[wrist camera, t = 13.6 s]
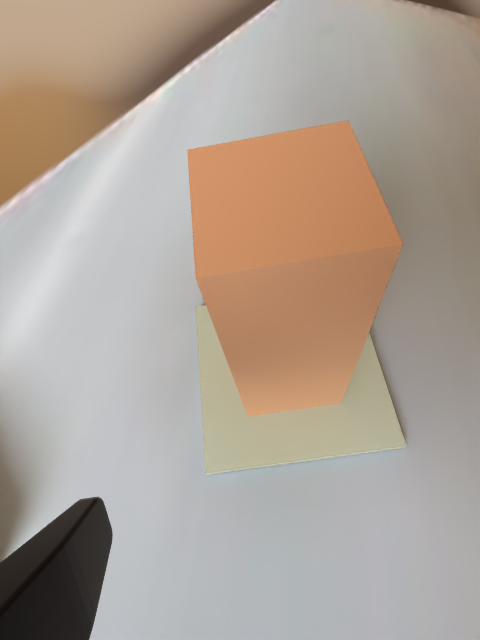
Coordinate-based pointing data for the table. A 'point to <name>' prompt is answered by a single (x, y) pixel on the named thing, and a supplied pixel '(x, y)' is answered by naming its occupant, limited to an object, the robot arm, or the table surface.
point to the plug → (290, 260)
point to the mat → (290, 416)
